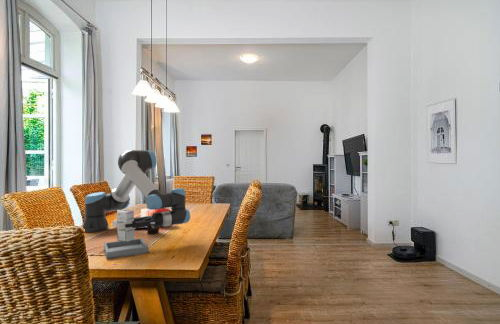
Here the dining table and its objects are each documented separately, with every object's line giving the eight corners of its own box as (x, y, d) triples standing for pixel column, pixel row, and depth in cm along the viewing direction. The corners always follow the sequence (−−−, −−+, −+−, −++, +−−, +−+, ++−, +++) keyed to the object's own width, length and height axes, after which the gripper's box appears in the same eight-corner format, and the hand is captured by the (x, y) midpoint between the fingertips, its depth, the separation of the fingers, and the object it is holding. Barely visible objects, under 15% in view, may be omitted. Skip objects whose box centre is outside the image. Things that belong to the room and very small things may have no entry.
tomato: (156, 224, 209) (156, 206, 208) (173, 224, 210) (173, 206, 210) (152, 228, 196) (152, 209, 196) (170, 228, 198) (170, 208, 197)
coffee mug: (162, 231, 188) (162, 215, 188) (157, 234, 180) (157, 218, 180) (144, 231, 189) (144, 215, 189) (138, 234, 181) (138, 217, 181)
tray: (103, 248, 151) (103, 242, 151) (141, 243, 160) (141, 238, 160) (106, 259, 136) (106, 252, 136) (148, 252, 145) (148, 246, 145)
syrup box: (134, 239, 150) (134, 209, 150) (126, 242, 144) (126, 211, 144) (125, 238, 152) (125, 209, 152) (116, 241, 146) (116, 211, 146)
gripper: (169, 229, 151) (121, 237, 137) (154, 223, 167) (109, 229, 153) (169, 214, 151) (121, 220, 137) (154, 209, 167) (109, 214, 153)
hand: (115, 225), depth 145 cm, fingers closed on syrup box, 8 cm apart
